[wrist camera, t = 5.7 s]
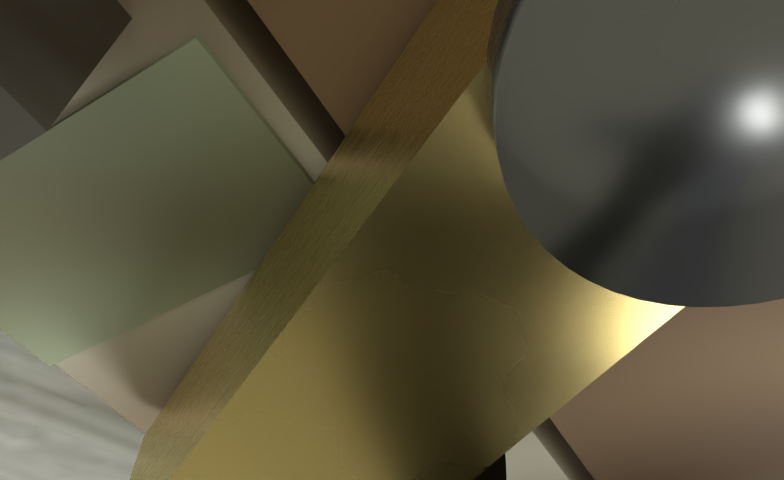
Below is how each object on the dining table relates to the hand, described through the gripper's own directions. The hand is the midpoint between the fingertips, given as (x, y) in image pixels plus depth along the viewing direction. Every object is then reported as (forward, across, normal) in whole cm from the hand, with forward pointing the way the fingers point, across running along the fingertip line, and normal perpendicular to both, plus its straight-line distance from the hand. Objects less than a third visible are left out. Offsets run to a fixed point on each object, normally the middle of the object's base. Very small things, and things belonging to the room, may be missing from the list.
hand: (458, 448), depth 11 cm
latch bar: (+1, +1, -4) cm, 4 cm away
